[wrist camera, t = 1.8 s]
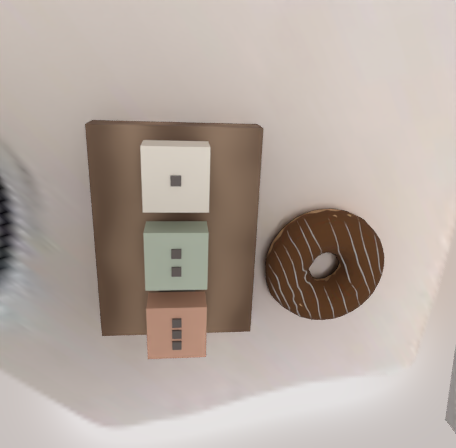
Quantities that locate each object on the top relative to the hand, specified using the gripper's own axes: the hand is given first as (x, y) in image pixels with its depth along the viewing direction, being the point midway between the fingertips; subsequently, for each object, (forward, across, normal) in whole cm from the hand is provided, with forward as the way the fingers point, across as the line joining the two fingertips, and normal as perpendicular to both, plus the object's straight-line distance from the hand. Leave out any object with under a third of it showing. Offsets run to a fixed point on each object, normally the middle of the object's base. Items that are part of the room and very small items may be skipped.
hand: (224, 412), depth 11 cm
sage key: (+21, -2, -4) cm, 21 cm away
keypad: (+25, -2, -4) cm, 26 cm away
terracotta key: (+21, -3, -10) cm, 23 cm away
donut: (+26, +10, -8) cm, 29 cm away
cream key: (+21, -1, +2) cm, 21 cm away
